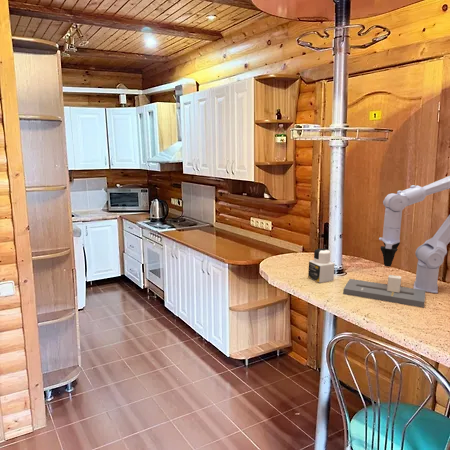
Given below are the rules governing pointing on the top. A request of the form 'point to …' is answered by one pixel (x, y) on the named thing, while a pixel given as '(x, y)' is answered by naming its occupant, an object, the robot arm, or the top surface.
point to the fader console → (385, 293)
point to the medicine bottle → (321, 266)
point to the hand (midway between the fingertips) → (388, 263)
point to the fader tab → (394, 283)
